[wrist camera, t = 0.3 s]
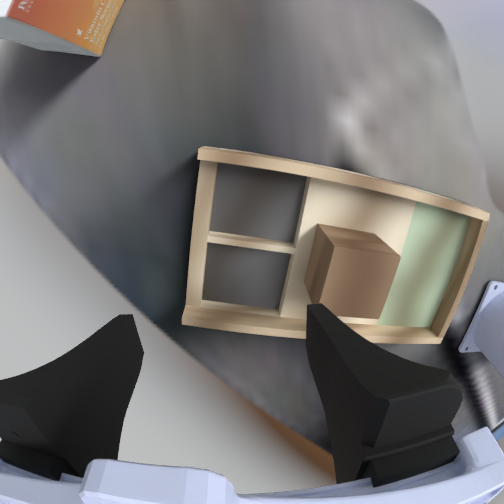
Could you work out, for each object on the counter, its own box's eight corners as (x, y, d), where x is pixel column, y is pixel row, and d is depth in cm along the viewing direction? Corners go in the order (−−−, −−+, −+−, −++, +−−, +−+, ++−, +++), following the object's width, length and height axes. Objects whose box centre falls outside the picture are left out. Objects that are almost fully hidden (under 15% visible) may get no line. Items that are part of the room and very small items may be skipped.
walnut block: (374, 233, 20) (401, 256, 16) (358, 288, 21) (378, 319, 17) (317, 223, 19) (334, 246, 16) (303, 281, 21) (315, 314, 17)
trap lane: (466, 203, 21) (490, 213, 18) (424, 323, 25) (440, 343, 22) (205, 145, 19) (198, 148, 16) (188, 300, 23) (181, 324, 20)
